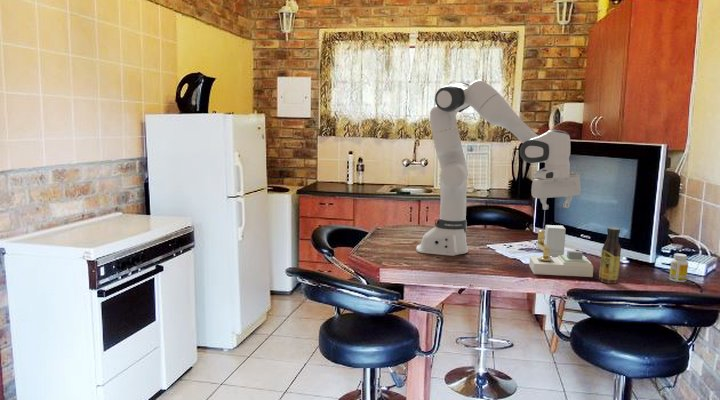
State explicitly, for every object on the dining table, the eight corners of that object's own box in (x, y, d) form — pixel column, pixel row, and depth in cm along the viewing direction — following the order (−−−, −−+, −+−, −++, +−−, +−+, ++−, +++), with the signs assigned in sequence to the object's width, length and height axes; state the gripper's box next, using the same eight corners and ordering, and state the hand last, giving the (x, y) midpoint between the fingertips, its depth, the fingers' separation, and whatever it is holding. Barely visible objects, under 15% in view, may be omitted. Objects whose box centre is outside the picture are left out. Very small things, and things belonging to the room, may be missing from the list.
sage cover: (565, 264, 204) (566, 253, 204) (561, 258, 212) (561, 248, 211) (588, 265, 203) (588, 254, 202) (582, 259, 211) (583, 249, 210)
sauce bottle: (595, 279, 199) (599, 226, 196) (611, 279, 200) (616, 225, 196) (604, 284, 193) (609, 229, 190) (621, 284, 193) (626, 229, 190)
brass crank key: (534, 255, 217) (535, 230, 215) (544, 255, 217) (545, 230, 215) (542, 261, 207) (543, 235, 205) (552, 261, 207) (554, 235, 205)
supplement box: (564, 258, 229) (566, 228, 227) (545, 257, 230) (547, 227, 228) (561, 254, 236) (563, 225, 234) (543, 252, 237) (545, 224, 235)
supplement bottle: (668, 280, 199) (670, 254, 197) (670, 277, 203) (673, 252, 201) (685, 283, 195) (687, 257, 194) (687, 280, 200) (690, 254, 198)
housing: (533, 273, 205) (534, 261, 204) (529, 266, 216) (530, 253, 215) (592, 276, 202) (593, 263, 201) (584, 268, 213) (585, 256, 212)
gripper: (574, 170, 214) (572, 205, 216) (529, 173, 207) (528, 209, 209) (585, 172, 208) (583, 208, 210) (539, 174, 201) (538, 211, 203)
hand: (555, 208), depth 209 cm, fingers open, 8 cm apart
